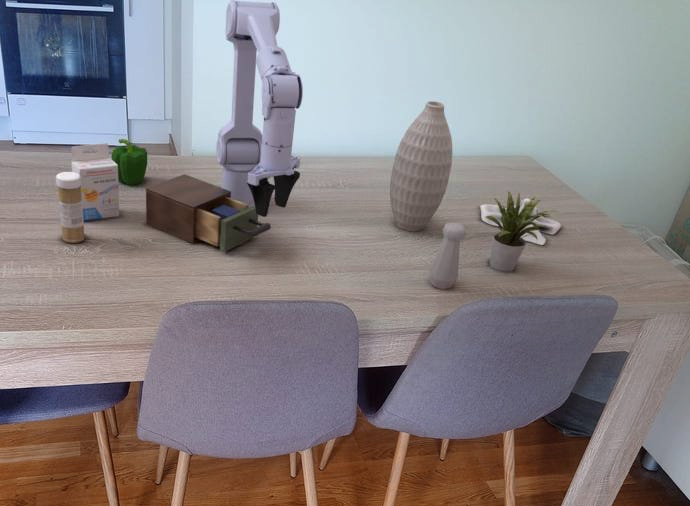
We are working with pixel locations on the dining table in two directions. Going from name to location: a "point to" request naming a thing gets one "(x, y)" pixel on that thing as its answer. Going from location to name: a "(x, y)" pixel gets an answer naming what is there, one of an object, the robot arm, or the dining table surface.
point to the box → (224, 212)
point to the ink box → (97, 181)
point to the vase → (421, 169)
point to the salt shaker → (447, 257)
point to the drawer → (227, 224)
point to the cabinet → (179, 204)
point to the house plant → (512, 233)
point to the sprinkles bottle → (70, 206)
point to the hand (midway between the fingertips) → (270, 210)
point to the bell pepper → (130, 162)
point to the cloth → (549, 229)
